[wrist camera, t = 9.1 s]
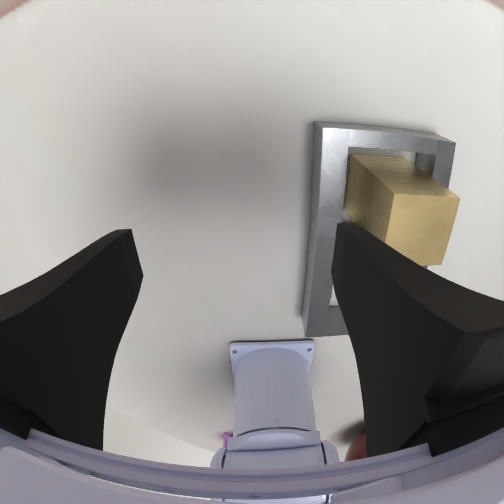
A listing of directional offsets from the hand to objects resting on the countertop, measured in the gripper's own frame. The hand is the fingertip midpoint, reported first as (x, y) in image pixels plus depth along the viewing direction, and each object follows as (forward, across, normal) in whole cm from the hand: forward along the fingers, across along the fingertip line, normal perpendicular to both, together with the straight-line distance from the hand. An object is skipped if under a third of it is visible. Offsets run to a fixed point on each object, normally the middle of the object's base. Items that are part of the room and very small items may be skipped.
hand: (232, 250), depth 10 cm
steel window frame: (+10, -9, +5) cm, 14 cm away
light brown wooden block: (+10, -9, +1) cm, 13 cm away
